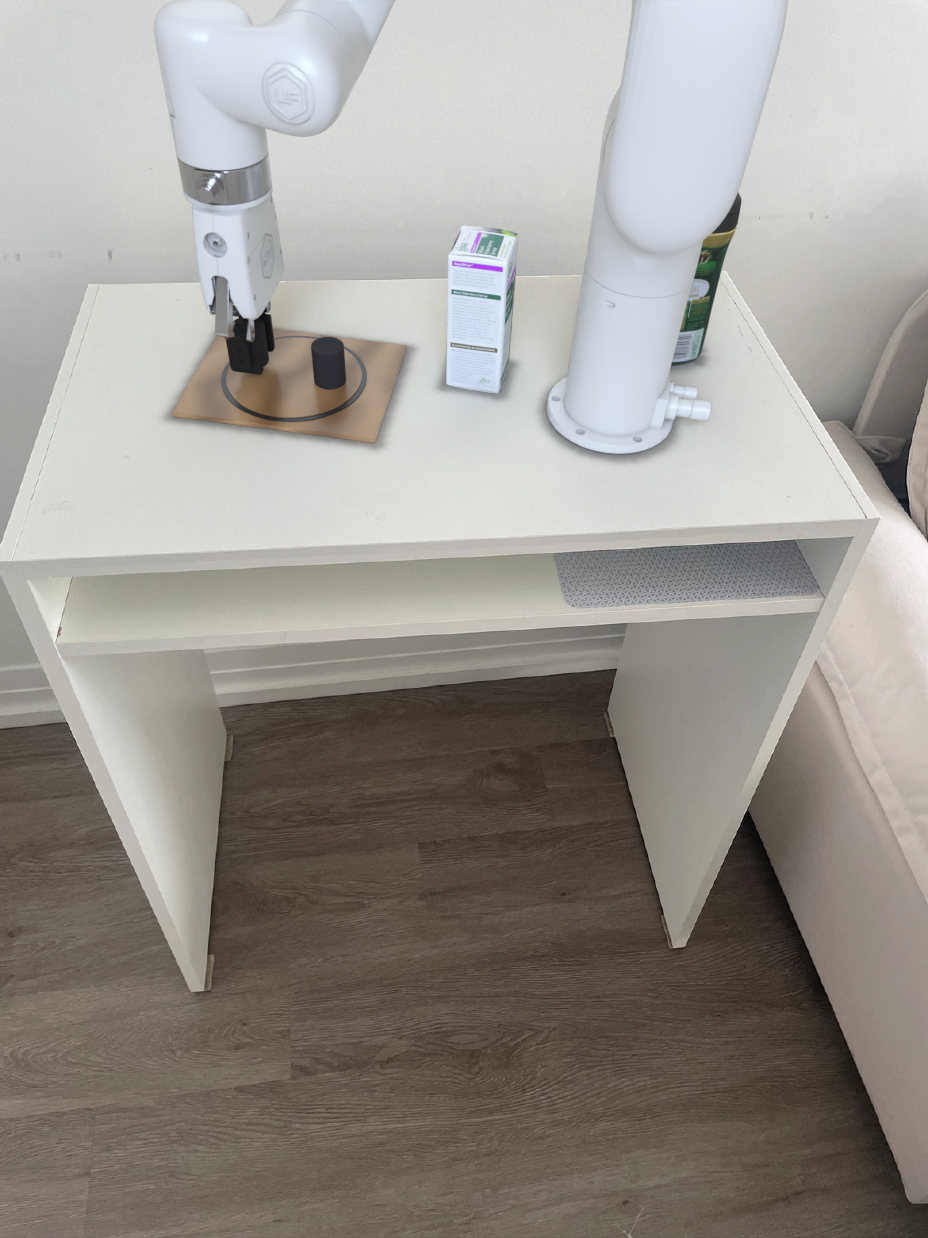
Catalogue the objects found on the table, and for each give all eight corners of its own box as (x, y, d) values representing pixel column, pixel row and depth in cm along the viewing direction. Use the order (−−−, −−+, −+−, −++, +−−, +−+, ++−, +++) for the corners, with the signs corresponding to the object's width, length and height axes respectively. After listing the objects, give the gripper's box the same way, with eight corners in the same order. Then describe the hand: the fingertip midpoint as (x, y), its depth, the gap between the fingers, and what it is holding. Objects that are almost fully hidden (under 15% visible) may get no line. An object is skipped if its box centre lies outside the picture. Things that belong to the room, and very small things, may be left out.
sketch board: (406, 349, 97) (406, 343, 96) (375, 443, 87) (374, 437, 86) (224, 326, 98) (223, 320, 98) (172, 416, 88) (170, 410, 87)
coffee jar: (614, 320, 102) (647, 149, 88) (681, 318, 103) (725, 148, 89) (636, 371, 96) (675, 196, 82) (707, 368, 97) (759, 194, 83)
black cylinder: (273, 353, 92) (268, 318, 89) (263, 371, 90) (258, 336, 87) (242, 349, 92) (236, 313, 89) (232, 367, 90) (226, 331, 87)
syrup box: (499, 395, 92) (511, 260, 81) (443, 386, 93) (447, 251, 82) (509, 363, 96) (522, 230, 85) (454, 355, 97) (460, 221, 85)
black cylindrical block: (349, 373, 92) (347, 338, 89) (341, 391, 90) (339, 356, 87) (318, 369, 93) (315, 334, 90) (310, 387, 91) (307, 352, 88)
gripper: (239, 224, 72) (266, 414, 86) (294, 139, 82) (311, 320, 96) (147, 213, 72) (189, 404, 86) (214, 129, 83) (242, 311, 97)
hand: (253, 358), depth 91 cm, fingers closed on black cylinder, 3 cm apart
